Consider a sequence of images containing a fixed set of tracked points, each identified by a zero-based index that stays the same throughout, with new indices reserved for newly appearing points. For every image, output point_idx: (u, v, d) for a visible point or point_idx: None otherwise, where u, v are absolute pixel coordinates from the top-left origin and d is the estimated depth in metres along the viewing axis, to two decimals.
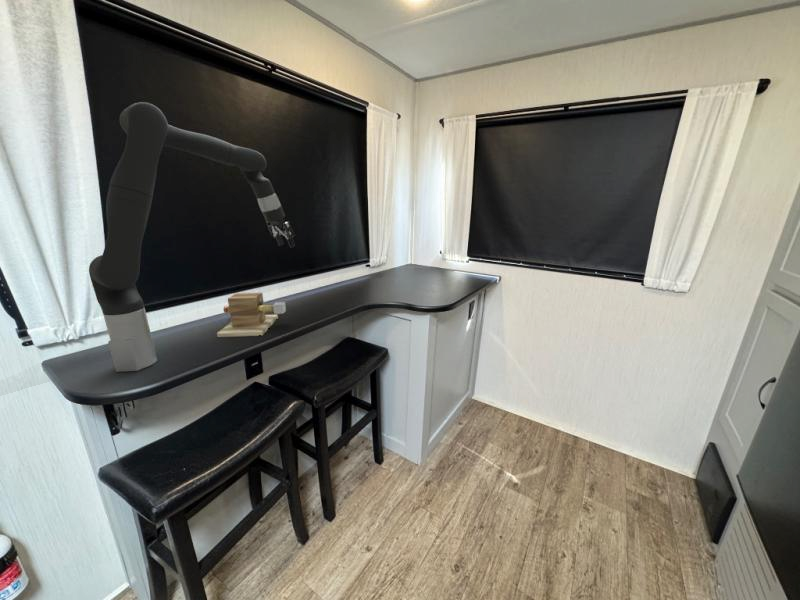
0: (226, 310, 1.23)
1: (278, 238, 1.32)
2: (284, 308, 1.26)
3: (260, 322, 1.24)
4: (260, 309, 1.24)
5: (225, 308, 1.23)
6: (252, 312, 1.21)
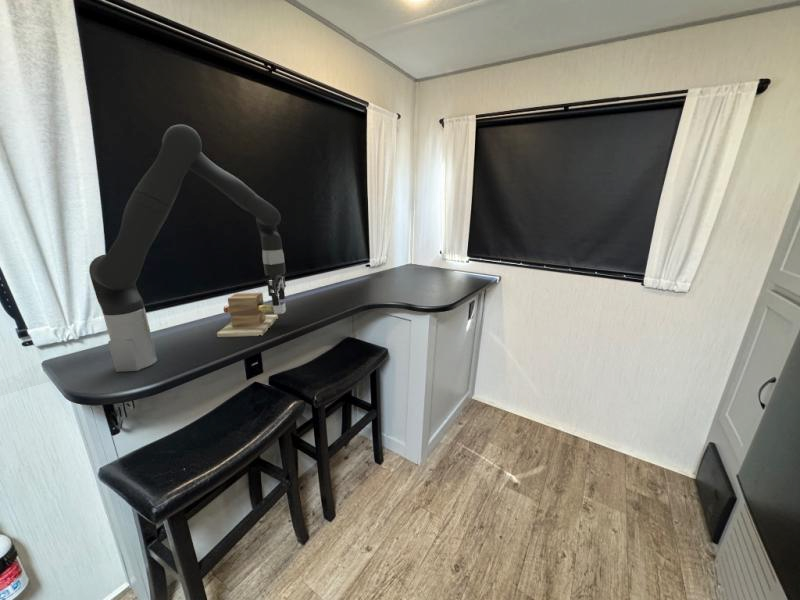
0: (226, 310, 1.23)
1: (280, 292, 1.28)
2: (284, 308, 1.26)
3: (260, 322, 1.24)
4: (260, 309, 1.24)
5: (225, 308, 1.23)
6: (252, 312, 1.21)
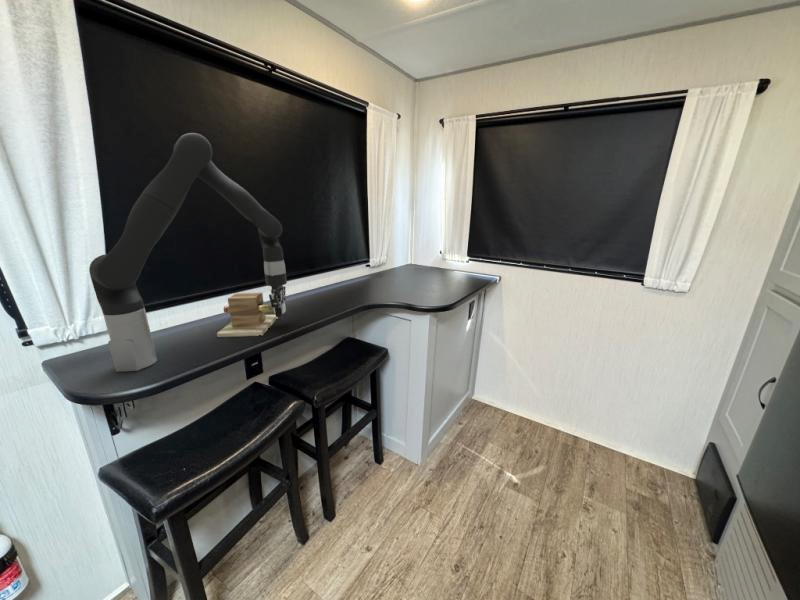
0: (226, 310, 1.23)
1: None
2: (284, 308, 1.26)
3: (260, 322, 1.24)
4: (260, 309, 1.24)
5: (225, 308, 1.23)
6: (252, 312, 1.21)
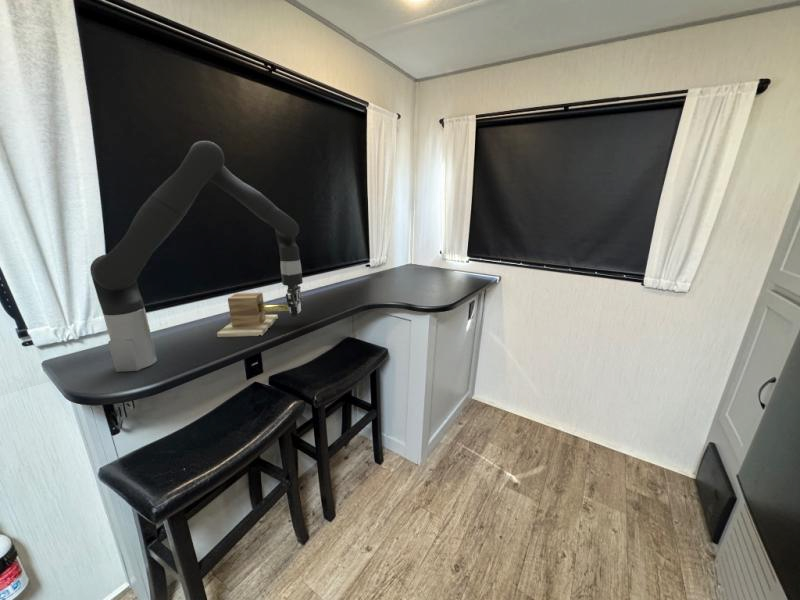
0: None
1: None
2: (299, 308, 1.26)
3: (260, 322, 1.24)
4: (276, 309, 1.24)
5: None
6: (252, 312, 1.21)
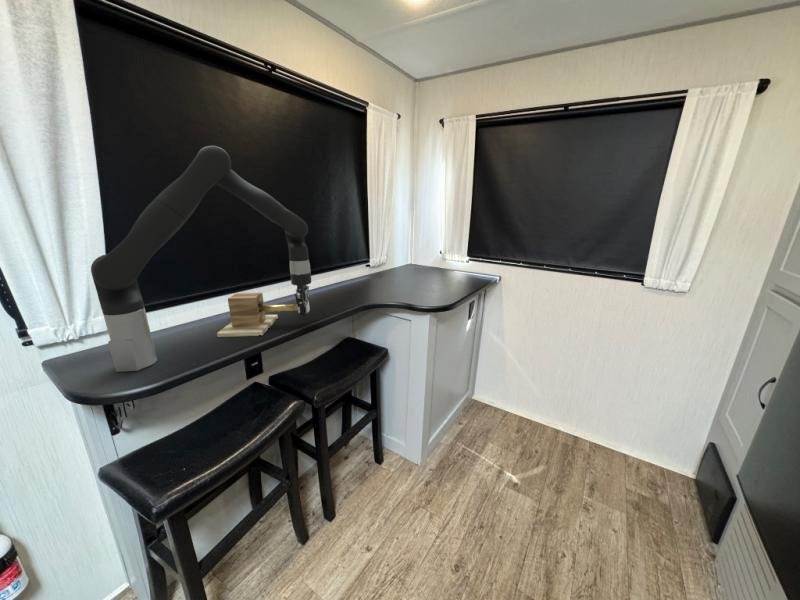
0: None
1: None
2: (308, 307, 1.27)
3: (260, 322, 1.24)
4: (285, 308, 1.25)
5: None
6: (252, 312, 1.21)
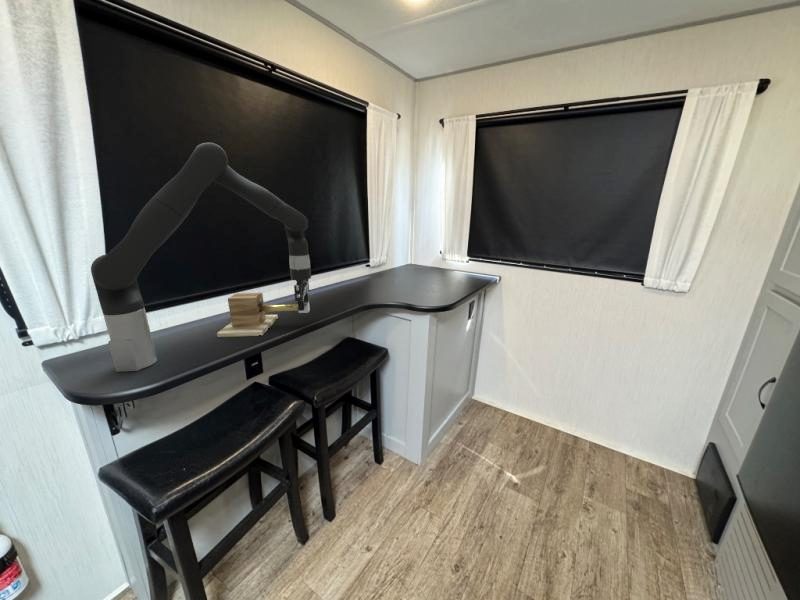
0: None
1: (304, 296, 1.29)
2: (308, 307, 1.27)
3: (260, 322, 1.24)
4: (285, 308, 1.25)
5: None
6: (252, 312, 1.21)
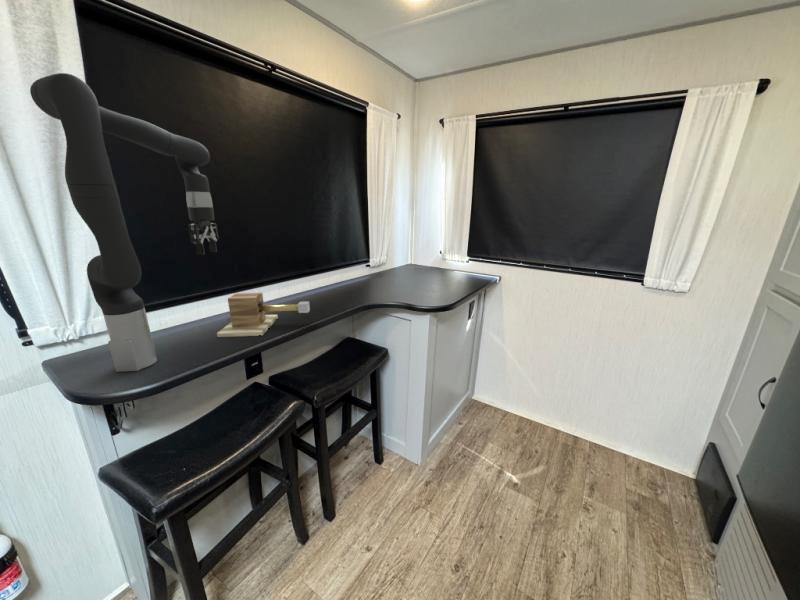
0: None
1: (211, 243, 1.17)
2: (308, 307, 1.27)
3: (260, 322, 1.24)
4: (285, 308, 1.25)
5: None
6: (252, 312, 1.21)
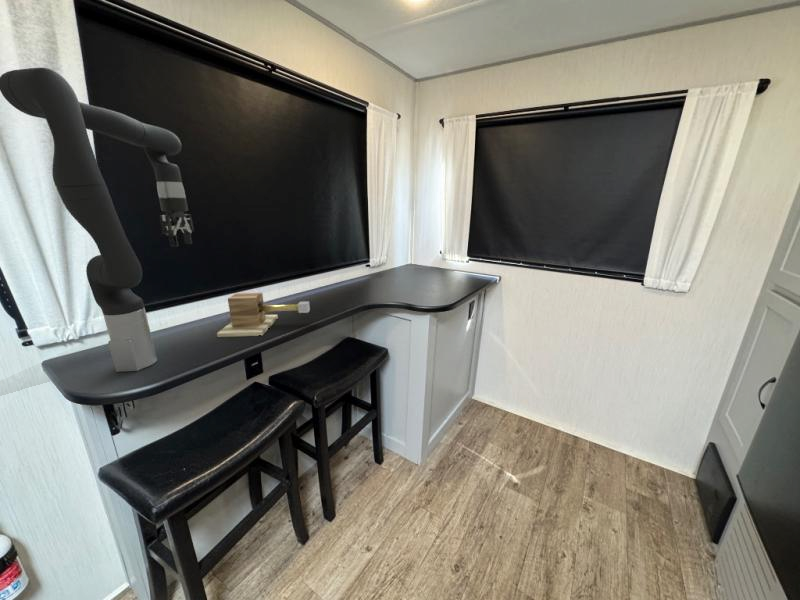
0: None
1: (185, 235, 1.14)
2: (308, 307, 1.27)
3: (260, 322, 1.24)
4: (285, 308, 1.25)
5: None
6: (252, 312, 1.21)
